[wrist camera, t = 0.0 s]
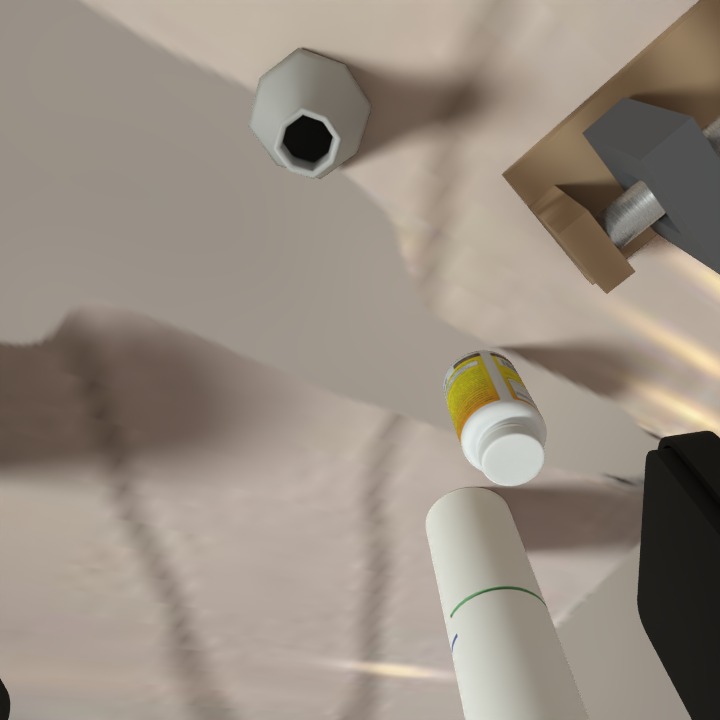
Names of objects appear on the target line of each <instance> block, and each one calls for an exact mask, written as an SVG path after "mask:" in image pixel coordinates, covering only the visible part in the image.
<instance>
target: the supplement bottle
mask: <svg viewBox="0 0 720 720" xmlns="http://www.w3.org/2000/svg"><path fill="white" fill-rule="evenodd" d="M443 390H444V395H445V399H446V402H447V405H448V408H449V411H450V414H451V417H452V420H453V423H454V426H455V429H456V432H457V435H458V438H459V441H460V444H461V447H462V450H463V452H464V454H465V456H466V458H467V460H468V461H469V462H470V463H471V464H472V465H473V466H474V467H476V468H477V469H479V470H481V471H483V472H484V474H485V475H486V476H487V478H488V479H490V480H491V481H492V482H494V483H496V484H499V485H503V486H516V485H520V484H523V483H525V482H528V481H529V480H531V479H532V478H534V477H535V476H536V475H537V474H538V473H539V471H540V470H541V468H542V467H543V464H544V461H545V452H544V448H543V447H544V445H545V441H546V426H545V423H544V420H543V418H542V416H541V414H540V413H539V411H538V409H537V407H536V405H535V404H534V402H533V400H532V398H531V397H530V395H529V393H528V391H527V389H526V388H525V386H524V384H523V382H522V380H521V379H520V377H519V375H518V373H517V371H516V370H515V368H514V366H513V365H512V364H511V362H510V361H509V360H508V359H506V358H505V357H504V356H502V355H500V354H498V353H495V352H491V351H476V352H472V353H469V354H466V355H464V356H462V357H461V358H459V359H458V360H457V361H455V363H453V365H451V367H450V368H449V370H448V372H447V373H446V376H445V379H444V384H443Z"/></svg>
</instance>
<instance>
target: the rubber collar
mask: <svg viewBox="0 0 720 720" xmlns="http://www.w3.org/2000/svg"><path fill="white" fill-rule="evenodd" d="M582 134H583V135H584V137H585V138H586V139H587V141H588V142H589V143H590V145H591V146H592V147H593V149H594V150H595V152H596V153H597V154H598V156H599V157H600V158H601V160H602V161H603V162H604V164H605V165H606V167H607V168H608V169H609V171H610V172H611V173H612V175H613V176H614V178H615V179H616V180H617V182H618V183H619V184H620V186H621V187H622V188H623V190H624V191H625V192H626V191H627V190H628V189H629V188H631V187H632V186H633V185H634V184H636V183H637V182H638V181H639V180H640V181H642V182H644V183H645V184H646V186H647V187H648V188H649V190H650V191H651V193H652V194H653V195H654V197H655V198H656V200H657V201H658V202H659V204H660V205H661V207H662V208H663V209H664V211H665V212H666V213H665V214H664V215H663V216H661V217H660V218H659V219H658V220H656V221H655V222H654V223H653V224H651V225H650V227H651V228H652V229H653V231H654V232H656V233H657V234H659V235H660V236H662V237H663V238H665V239H667V240H668V241H670V242H671V243H673V244H674V245H676V246H677V247H679V248H680V249H682V250H683V251H685V252H686V253H688V254H689V255H691V256H692V257H694V258H695V259H697V260H699V261H700V262H702V263H703V264H705V265H706V266H708V267H709V268H711V269H712V270H714V271H715V272H717V273H718V274H720V158H719V157H718V155H717V154H716V152H715V151H714V149H713V147H712V146H711V144H710V143H709V141H708V140H707V138H706V137H705V135H704V134H703V132H702V130H701V129H700V127H699V126H698V124H697V123H696V121H695V120H694V118H693V117H692V116H689V115H685V114H682V113H678V112H674V111H671V110H667V109H664V108H660V107H657V106H653V105H650V104H646V103H642V102H639V101H635V100H632V99H628V98H625V97H623V98H622V99H621V100H620V101H619V102H617V103H616V104H615V105H614V106H613V107H612V108H611V109H609V110H608V111H607V112H606V113H605V114H604V115H602V116H601V117H600V118H599V119H598V120H597V121H595V122H594V123H593V124H592V125H591V126H590V127H589V128H587V129H586V130H585V131H584V132H583V133H582Z"/></svg>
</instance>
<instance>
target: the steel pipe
mask: <svg viewBox="0 0 720 720" xmlns="http://www.w3.org/2000/svg"><path fill="white" fill-rule="evenodd" d="M701 130H702V132H703V134H704V135H705V137H706V138H707V140H708V141H709V143H710V144H711V146H712V147H713V149H714V151H715V152H716V154H717V155H718V157H719V158H720V115H719V116H717V117H716V118H715V119H714V120H712V121H711V122H710V123H709V124H708V125H706V126H705V127H704V128H703V129H701ZM665 213H666V212H665V211H664V209H663V208H662V207H661V205H660V204H659V202H658V201H657V200H656V198H655V197H654V195H653V194H652V193H651V191H650V190H649V188H648V187H647V186H646V184H645V183H644V182H642V181H640V180H639V181H638V182H637V183H636V184H634V185H633V186H632V187H631V188H629V189H628V190H627V191H626V192H625V193H623V194H622V195H621V196H620V197H618V198H617V199H616V200H615V201H614V202H612V203H611V204H610V205H609V206H607V207H606V208H605V209H604V210H603V211H601V212H600V213H599V214H598V215H597V216H595V217H594V219H595V220H596V221H597V223H598V224H599V225H600V226H601V228H602V229H603V230H604V232H605V233H606V234H607V236H608V237H609V238H610V239H611V241H612V242H613V243H614V245H615V246H616V247H617V249H618V250H620V249H621V248H622V247H624V246H625V245H626V244H627V243H629V242H630V241H631V240H632V239H634V238H635V237H636V236H638V235H639V234H640V233H641V232H643V231H644V230H645V229H646V228H648V227H649V226H650V225H651V224H653V223H654V222H655V221H656V220H658V219H659V218H660V217H661V216H663V215H664V214H665Z"/></svg>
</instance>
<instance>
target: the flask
mask: <svg viewBox="0 0 720 720" xmlns="http://www.w3.org/2000/svg"><path fill="white" fill-rule="evenodd" d="M371 109H372V106H371V104H370V102H369V101H368V99H367V98H366V96H365V95H364V93H363V92H362V90H361V88H360V87H359V85H358V84H357V82H356V81H355V79H354V78H353V76H352V75H351V73H350V71H349V70H348V68H347V67H346V65H345V64H342V63H339V62H337V61H334V60H331V59H328V58H325V57H323V56H320V55H317V54H314V53H311V52H309V51H306V50H303V49H300V48H298V49H296V50H295V51H294V52H292V53H291V54H290V55H289V56H287V57H286V58H285V59H284V60H282V61H281V62H280V63H278V64H277V65H276V66H275V67H273V68H272V69H271V70H269V71H268V72H267V73H266V74H264V75H263V76H262V77H261V78H260V79H259V83H258V87H257V91H256V95H255V99H254V103H253V108H252V111H251V115H250V119H249V123H248V127H249V128H250V130H251V131H252V132H253V134H254V135H255V136H256V138H257V139H258V141H259V142H260V143H261V144H262V146H263V147H264V149H265V150H266V151H267V153H268V154H269V155H270V157H271V158H272V159H273V161H274V162H275V163H276V165H278V166H281V167H284V168H287V169H288V170H289V171H291V172H294V173H297V174H300V175H304V176H306V177H310V178H313V179H314V178H318V179H321V178H323V177H324V176H326V175H327V174H328V173H330V172H331V171H332V170H334V169H335V168H337V167H338V166H339V165H341V164H342V163H344V162H345V161H346V160H348V159H349V158H350V157H352V156H353V155H355V154H356V153H357V152H358V149H359V146H360V143H361V140H362V137H363V133H364V130H365V127H366V124H367V121H368V118H369V115H370V112H371Z"/></svg>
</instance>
